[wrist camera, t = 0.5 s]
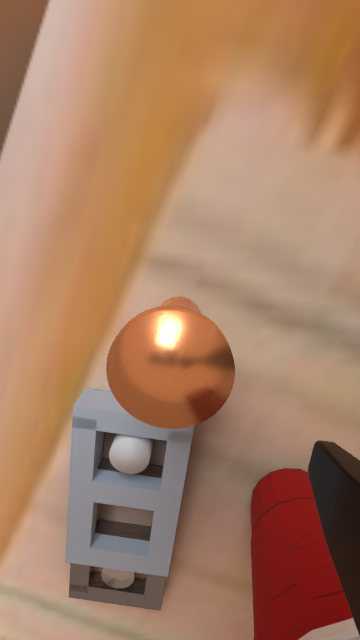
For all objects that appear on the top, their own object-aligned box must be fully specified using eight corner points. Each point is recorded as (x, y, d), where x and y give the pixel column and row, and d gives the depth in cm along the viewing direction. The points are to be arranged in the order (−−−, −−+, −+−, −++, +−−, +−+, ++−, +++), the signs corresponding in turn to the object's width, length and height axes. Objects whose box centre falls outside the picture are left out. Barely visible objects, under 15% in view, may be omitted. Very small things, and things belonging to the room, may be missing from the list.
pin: (223, 286, 20) (246, 321, 11) (210, 359, 21) (222, 436, 13) (144, 274, 20) (111, 301, 11) (136, 348, 21) (102, 419, 13)
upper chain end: (194, 404, 22) (194, 423, 20) (170, 546, 26) (167, 577, 23) (85, 388, 22) (73, 406, 20) (77, 532, 26) (65, 562, 23)
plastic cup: (390, 483, 23) (589, 731, 12) (297, 567, 26) (384, 837, 14) (279, 410, 22) (378, 606, 10) (193, 506, 24) (195, 748, 13)
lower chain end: (183, 469, 23) (182, 481, 22) (161, 594, 27) (160, 610, 26) (81, 454, 23) (76, 465, 22) (74, 581, 27) (68, 597, 26)
